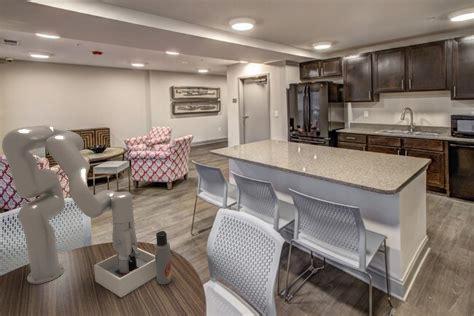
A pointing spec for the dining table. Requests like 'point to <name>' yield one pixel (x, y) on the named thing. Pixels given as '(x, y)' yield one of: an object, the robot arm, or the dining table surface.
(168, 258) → the lotion bottle
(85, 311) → the dining table surface
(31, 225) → the robot arm
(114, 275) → the box
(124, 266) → the pill bottle
